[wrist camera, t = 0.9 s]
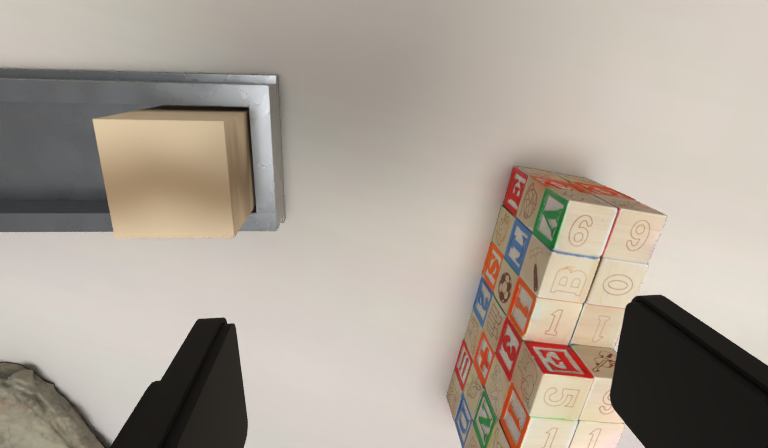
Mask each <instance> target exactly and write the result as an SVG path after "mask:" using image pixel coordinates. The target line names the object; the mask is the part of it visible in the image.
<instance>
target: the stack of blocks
mask: <svg viewBox="0 0 768 448" xmlns="http://www.w3.org/2000/svg"><path fill="white" fill-rule="evenodd" d="M666 220H667V215H665V214H663V213H661V212H659V211H657V210H655V209H652V208H650V207H648V206H646V205H644V204H642V203H640V202H638V201H636V200H635V199H633V198H631V197H629V196H627V195H625V194H622V193H620V192H618V191H616V190H613V189H611V188H608V187H606V186H604V185H601V184H599V183H597V182H595V181H592V180H590V179H587V178H581V177H575V176H570V175H564V174H558V173H552V172H548V171H543V170H537V169H531V168H525V167H516V166H515V167H513V170H512V174H511V178H510V182H509V185H508V189H507V193H506V196H505V200H504V205H503V206H502V207H501V210H500V213H499V217H498V220H497V224H496V227H495V231H494V234H493V238H492V242H491V245H490V248H489V251H488V254H487V258H486V261H485V265H484V268H483V271H482V278H481V281H480V285H479V289H478V292H477V296H476V299H475V302H474V306H473V310H472V314H471V317H470V321H469V324H468V328H467V331H466V335H465V338H464V340H463V342H462V345H461V349H460V352H459V356H458V359H457V362H456V366H455V370H454V372H453V375H452V378H451V382H450V385H449V389H448V392H447V400H448V403H449V406H450V409H451V413H452V417H453V420H454V421H455V425H456V428H457V431H458V435H459V438H460V441H461V445H462V448H616V446H617V445H618V442H619V439H620V437H621V435H622V432H623V430H624V427H625V426H624V423H625V422H624V421H623V420H622V419H621V417H620V416H619V415H618V414H617V413H616V411H615V410H614V409H613V407H612V404H611V401H610V389H611V384H612V378H613V373H614V367H615V362H616V356H617V353H616V351H615V350H614V347H615V345H616V342H617V339H618V337H619V334H620V332H621V329H622V323H623V318H624V312H625V308H626V305H627V304H628V303H630V302H631V301H632V299H633V298H634V297H636V296H637V293H638V291H639V289H640V286H641V284H642V281H643V279H644V276H645V274H646V272H647V269H648V266H649V264H648V262H649V261H650V258H651V256H652V254H653V251H654V249H655V246H656V244H657V241H658V239H659V237H660V235H661V231H662V229H663V227H664V224H665V222H666Z"/></svg>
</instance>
